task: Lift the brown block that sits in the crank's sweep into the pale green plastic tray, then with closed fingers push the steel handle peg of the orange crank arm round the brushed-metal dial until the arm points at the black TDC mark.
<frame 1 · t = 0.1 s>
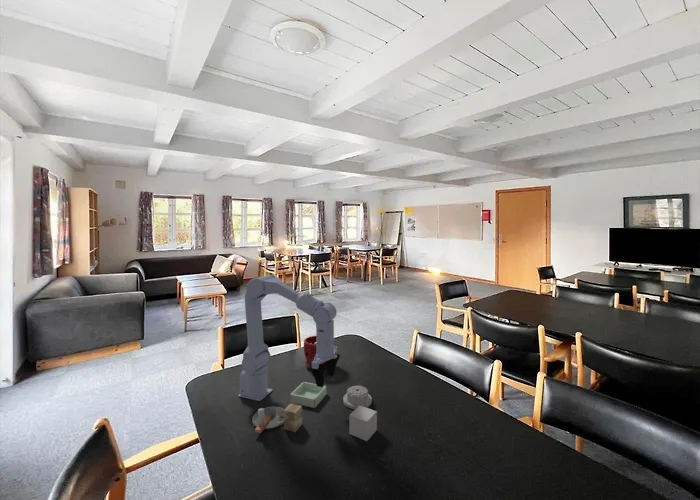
hand: (325, 380, 106), 10 cm above the table, tool pointing down, fingers open, 7 cm apart
tray: (308, 398, 114), on the table
mechanical component: (357, 402, 112), on the table
light grey cube: (363, 432, 95), on the table
crank: (265, 413, 98), point 4 cm above the table, hinge at -78.0°
brown block: (293, 426, 98), on the table
dial plate: (270, 418, 102), on the table
plant pot: (319, 366, 140), on the table
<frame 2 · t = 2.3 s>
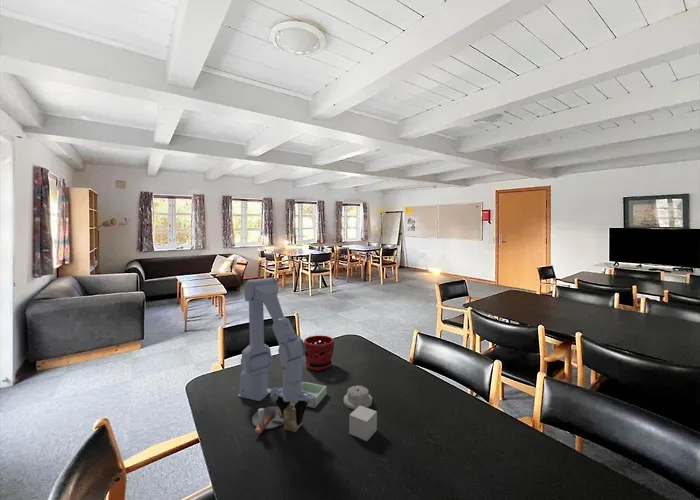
hand: (293, 421, 98), 2 cm above the table, tool pointing down, fingers closed on brown block, 4 cm apart
brown block: (293, 426, 98), on the table, touching gripper
everything else where it was.
when the fingers open (4 cm above the table, at t = 5.7 s): brown block stays where it is, resting on tray.
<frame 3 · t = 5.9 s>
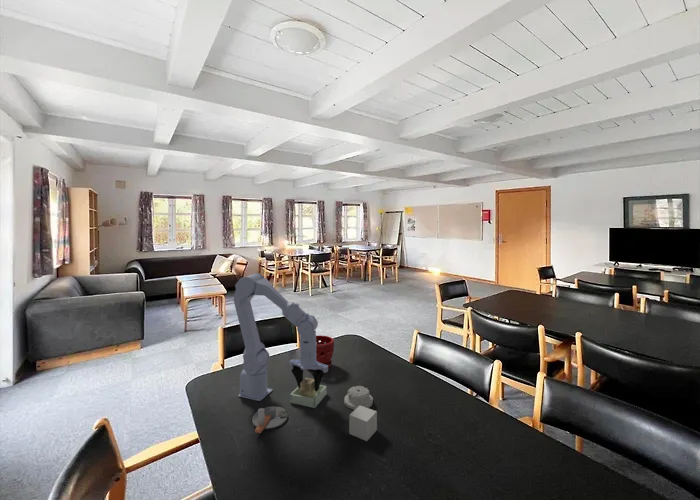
hand: (308, 388, 114), 4 cm above the table, tool pointing down, fingers open, 6 cm apart
brown block: (308, 397, 113), point 1 cm above the table, touching tray
everything else where it was.
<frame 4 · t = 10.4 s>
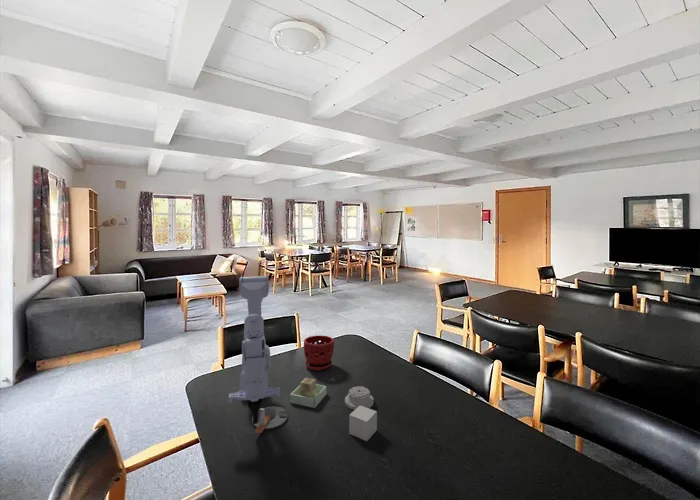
hand: (255, 421, 95), 3 cm above the table, tool pointing down, fingers closed, pressing on crank
crank: (265, 413, 98), point 4 cm above the table, hinge at -77.2°, touching gripper
everything else where it was.
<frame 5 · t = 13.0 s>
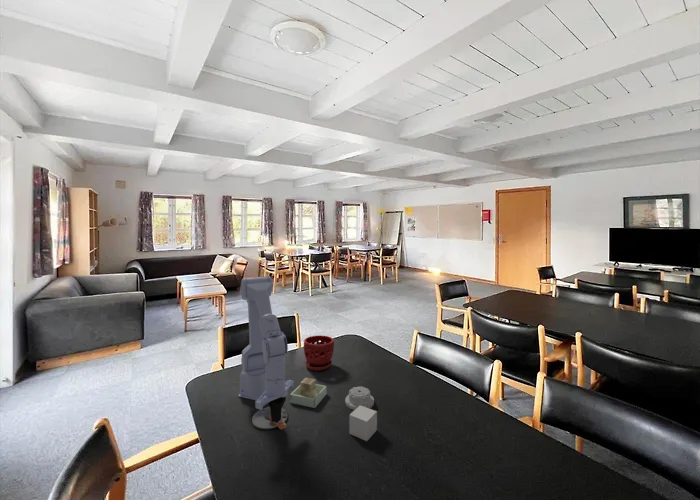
hand: (276, 420, 95), 3 cm above the table, tool pointing down, fingers closed, pressing on crank
crank: (275, 412, 99), point 4 cm above the table, hinge at -29.9°, touching gripper
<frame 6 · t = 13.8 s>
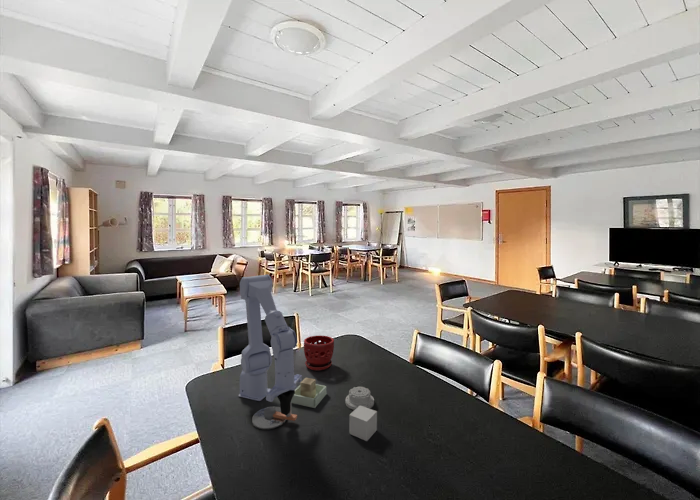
hand: (285, 413, 98), 4 cm above the table, tool pointing down, fingers closed, pressing on crank
crank: (280, 408, 101), point 4 cm above the table, hinge at 4.8°, touching gripper
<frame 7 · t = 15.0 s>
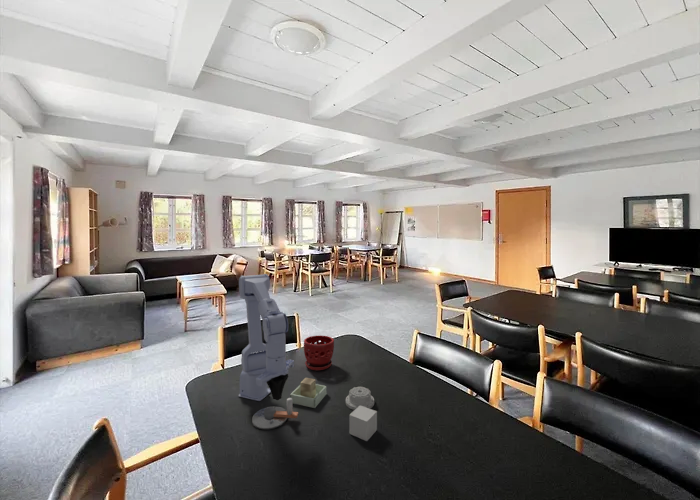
hand: (276, 398, 96), 10 cm above the table, tool pointing down, fingers closed
crank: (280, 407, 101), point 4 cm above the table, hinge at 13.9°
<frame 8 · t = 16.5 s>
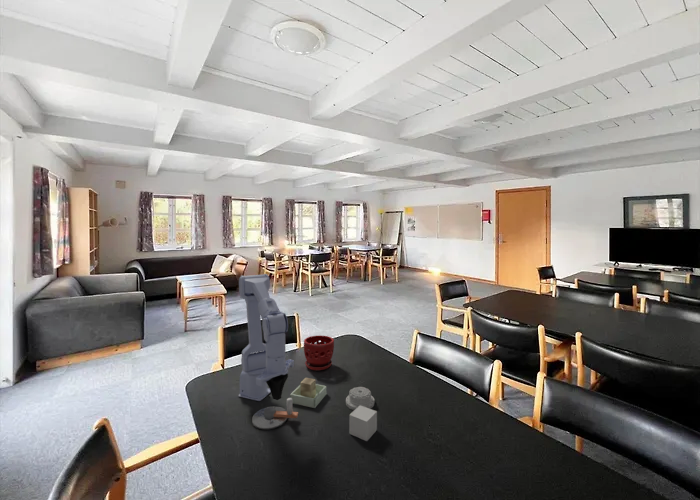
hand: (276, 398, 96), 10 cm above the table, tool pointing down, fingers closed
at the end: brown block inside the target area on the tray (0.4 cm from its centre), point 0.6 cm above the tray's base; crank at +14° (first picture: -78°); the gripper is holding nothing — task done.
